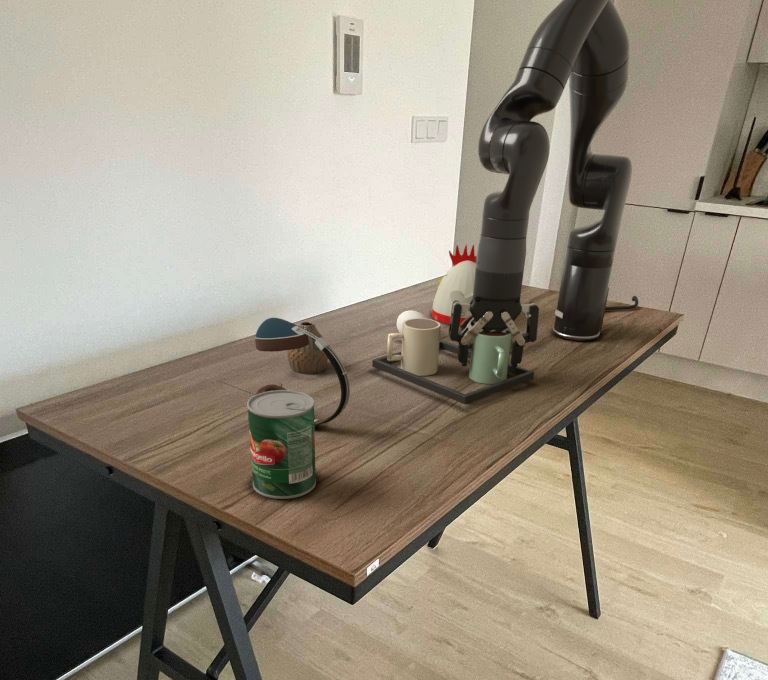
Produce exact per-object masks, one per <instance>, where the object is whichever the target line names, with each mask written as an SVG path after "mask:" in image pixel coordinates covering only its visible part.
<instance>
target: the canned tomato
mask: <svg viewBox="0 0 768 680" xmlns="http://www.w3.org/2000/svg"><path fill="white" fill-rule="evenodd" d="M246 407H247V413H248V414H247V416H248V417H247V420H248V432H249V445H250V459H251V475H252V488H253V490H254V491H255V492H256V493H257V494H259V495H261V496H263V497H265V498H268V499H269V498H270V499H275V500H287V499H288V500H289V499H295V498H296V499H297V498H299V497H302V496H305V495H307V494H309V493H311V491H312V490H314V488H315V487H316V484H317V479H316V439H315V437H316V434H315V433H316V432H315V429H316V428H315V427H314V424H315V422H314V420H315V400H314V398H313V397H312V396H311V395H309V394H307V393H304V392H302V391H298V390H297V391H296V390H291V389H290V390H289V389H286V390H275V391H268V392H263V393H260V394H257V395H253V396H251V397H250V398H249V399H248V400H247V402H246Z"/></svg>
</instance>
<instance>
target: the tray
mask: <svg viewBox="0 0 768 680" xmlns="http://www.w3.org/2000/svg"><path fill="white" fill-rule="evenodd" d="M458 346H459V345H457V344H454V343H451V342H448V341H446V340H443V339H442V340H440V343H439V350H441V349H442V350H445V351H448V352H450V353H454V354H456V355H458ZM393 355H401V351H398V352H395V353H393ZM468 359H469V360H470V359H471V349H469V348H468ZM371 362H372V363H371V366H372V367H373V368H375V369H377V370H380V371H382V372H384V373H386V374H390V375H392V376H395V377H397V378H399V379H402V380H404V381H407V382H409V383H412V384H414V385H415V386H418V387H422V388H424V389H426V390H428V391H430V392H433V393H436V394H437V395H441V396H443V397H446V398H448V399H451V400H453V401H456V402H458V403H461V404H463V405H467V404H469V403H472V402H475V401H478V400H481V399H483V398H486V397H488V396H492V395H494V394H496V393H500V392H502V391H504V390H508V389H509V388H510V389H511V388H513V387H515V386H518V385H521V384H524V383H527V382H530V381H531V380H534V379H535V378H534V377H535V371H533V370H530V369H527V368H524V367H521V366H518V365H517V367H512V365H511V363H509V364H508V372H507V373H510V374H512V375H515V376H512V377H510V378H507V379H506V380H504V381H501V382H498V383H495V384H489V385H487V386H484V387H480V388H478V389H476V390H472V391H470V392H468V393H463V392H460V391H457V390H455V389H453V388H450V387H448V386H446V385H443V384H440V383H438V382H435V381H432V380H430V379H427V378H425V377H424V376H418V375H415V374H413V373H410V372H408V371H405V370H403V369H401V367H397V366H395V365H392V364H393V363H396V362H401V360H396V361H388V360H387V355H383V356H380V357H376V358H373V359H372V360H371Z"/></svg>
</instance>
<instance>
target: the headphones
mask: <svg viewBox="0 0 768 680" xmlns="http://www.w3.org/2000/svg"><path fill="white" fill-rule="evenodd" d="M308 333H309V332H307V331H306V330H304V329H303V328H301V327H299V325H297V324H295V323H293V322H291V321H288V320H286V319H283V318H279V317H269V318H266V319H265V320H264V321H262V323H261V324H260V325H259V326H258V327H257V330H256V332H255V335H254V342H255V343H254V344H255V348H256V350H257V351H260V352H273V353H275V352H283V351H287V350H293V349H298V348H302V347H305V346H307V345H308V344H309V338H308V335H309V336H311V337H312V340H313V338H314V339H315V340H316V341H315V344H316V345H317V346H318V349H320V350H321V351H323V352H324V353H325V355H326V356H327V358H328V361H329V362H330V364H331V366H332V367H333V370H334V372H335V374H336V376H337V378H338V383H339V387H340V401H339V403H338V406H337V408H336V410H335V412H334V413H333V414H332V415H330V416H328V417H326V418H323V419H321V420H320V419H319V418H316V419H314V422H315V424H314V428H315V427H317V426H322V425H325V424H328V423H330V422H332V421H333V420H335V419H336V418H338V417H340V416H341V414H342V413H343V412H344V410H345V409H346V408H347V405H348V403H349V400H350V396H351V395H350V394H351V386H350V379H349V376H348V371H346V368H345V366H344V364H343V362H342V361H341V358H340V357H339V356H338V355H337V353H336V352H335V351H334V349H333V348H332V347H331V342H329V341H328V340H327V339H325V338H324V337H323V338H324V339H323V338H322V337H321V338H318V337H316V336H315V335H313V334H311V333H309V334H308ZM313 336H314V337H313ZM315 337H316V338H317V339H316V338H315ZM313 346H314V341H313ZM314 349H315V347H314ZM318 349H315V350H318ZM218 382H220V383H222V384H224V385H225V384H226V385H227V386H230V387H233V388H236V389H238V390H241V391H243V392H245V393H249V394H253V396H255V395H257V394H260V393H263V392H268V391H275V390H287V389H286V388H285V387H283V386H281V385H277V384H266V385H264V386H261V387H260V388H259V389H258V390H256V392H255V393H252V392H249V391H246V390H244V389H241V388H239V387H236V386H234V385H231V384H229V383H226V382H223V381H219V380H218Z"/></svg>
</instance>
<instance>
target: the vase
mask: <svg viewBox="0 0 768 680" xmlns="http://www.w3.org/2000/svg"><path fill="white" fill-rule="evenodd" d="M298 326H299V327H301V328H303V329H304V330H306V331H307V332H309V333H311V334H313V335H315V336H316V337H318V338H321V337H322V338H323V339H325V338H324V337H323V334H321V332H320V331H319V330H318V329H317V327H316V325H315V323H314V322H312V321H301V322H300V323H299V324H298ZM309 333H308V334H309ZM313 337H314V336H313ZM316 337H315V338H316ZM308 338H309V344H308V345H307V346H305V347H302V348H298V349H293V350H286V351H287V352H286V353H287V361H288V365H289V367H290V369H291V370H292V371H293V372H294V373H298V374H304V375H315V374H318V373H319V374H320V373H321V372H323V371H324V370H325V369H326V367H327V365H328V361H329V359H328V358H327V356H326V355H325V353H324V352H323V351H321V350H320V349H318V346H317V345H316V344H315V341H316V340H315V339H314V338H313V340H312V337H311V336H309V335H308ZM316 339H317V338H316ZM313 341H314V346H313ZM314 347H315V349H318V350H315V349H314Z"/></svg>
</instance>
